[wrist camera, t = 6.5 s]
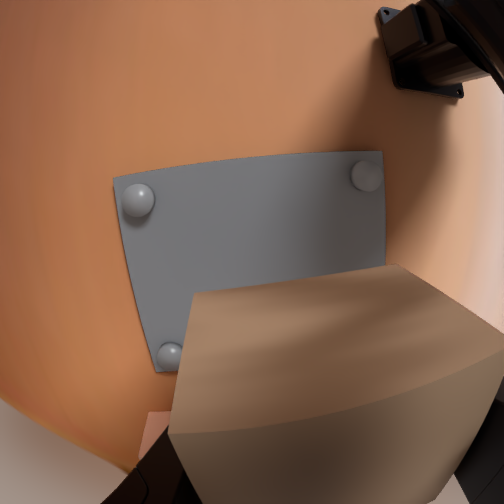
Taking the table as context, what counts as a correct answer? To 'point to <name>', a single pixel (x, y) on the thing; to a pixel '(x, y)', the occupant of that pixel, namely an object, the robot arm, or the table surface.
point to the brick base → (331, 390)
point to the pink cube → (153, 429)
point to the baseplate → (244, 230)
